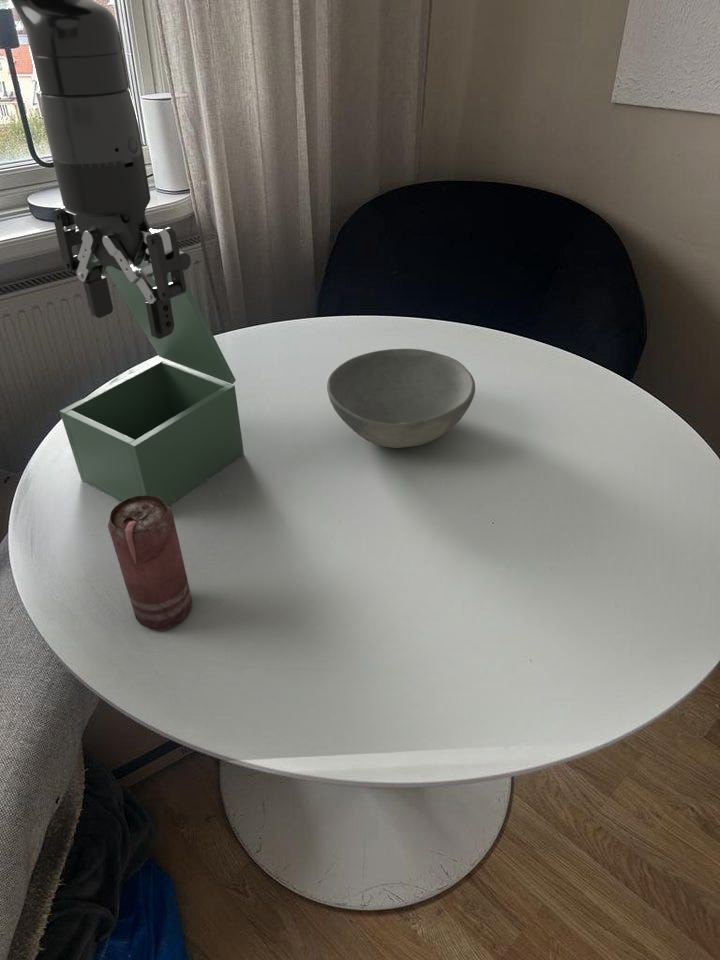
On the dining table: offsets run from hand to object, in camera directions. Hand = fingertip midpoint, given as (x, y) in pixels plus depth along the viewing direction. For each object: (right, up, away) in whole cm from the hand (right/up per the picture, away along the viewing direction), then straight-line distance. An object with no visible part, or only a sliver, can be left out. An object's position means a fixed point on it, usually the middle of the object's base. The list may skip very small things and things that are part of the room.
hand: (132, 325), depth 70 cm
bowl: (+29, -8, +34) cm, 45 cm away
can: (+2, -30, +6) cm, 30 cm away
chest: (-4, -14, +27) cm, 31 cm away
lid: (-2, +5, +18) cm, 19 cm away
